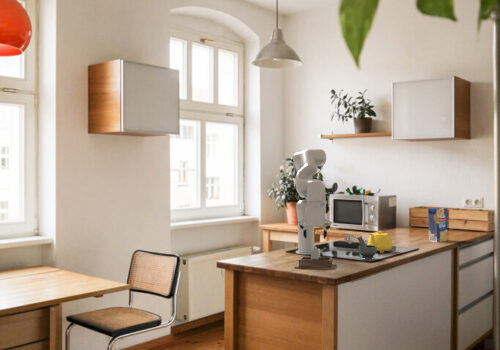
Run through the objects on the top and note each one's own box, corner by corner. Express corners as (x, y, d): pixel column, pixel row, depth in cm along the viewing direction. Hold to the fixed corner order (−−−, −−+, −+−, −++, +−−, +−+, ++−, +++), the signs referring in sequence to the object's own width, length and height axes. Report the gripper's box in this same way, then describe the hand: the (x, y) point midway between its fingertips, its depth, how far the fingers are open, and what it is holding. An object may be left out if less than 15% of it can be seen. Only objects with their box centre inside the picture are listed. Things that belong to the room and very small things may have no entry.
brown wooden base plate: (297, 264, 271) (297, 256, 271) (336, 264, 267) (336, 257, 267) (294, 268, 260) (294, 260, 260) (334, 269, 255) (334, 260, 255)
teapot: (360, 253, 304) (360, 231, 304) (377, 248, 318) (377, 228, 318) (381, 255, 295) (380, 233, 295) (397, 250, 309) (397, 230, 309)
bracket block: (312, 264, 267) (312, 246, 267) (320, 264, 266) (319, 246, 266) (311, 266, 261) (310, 247, 261) (319, 266, 260) (318, 248, 260)
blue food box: (447, 240, 348) (447, 208, 348) (437, 242, 342) (436, 208, 342) (438, 239, 354) (438, 207, 354) (428, 241, 348) (428, 208, 348)
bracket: (346, 239, 347) (351, 226, 344) (372, 256, 335) (378, 243, 332) (343, 240, 345) (349, 227, 342) (370, 257, 332) (376, 244, 329)
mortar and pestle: (380, 258, 283) (380, 236, 283) (370, 261, 276) (370, 238, 276) (363, 256, 291) (362, 235, 291) (353, 258, 285) (352, 236, 285)
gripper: (332, 204, 265) (332, 237, 266) (298, 204, 269) (299, 236, 270) (331, 205, 258) (331, 239, 258) (296, 205, 262) (297, 239, 262)
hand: (315, 238), depth 264 cm, fingers open, 9 cm apart
